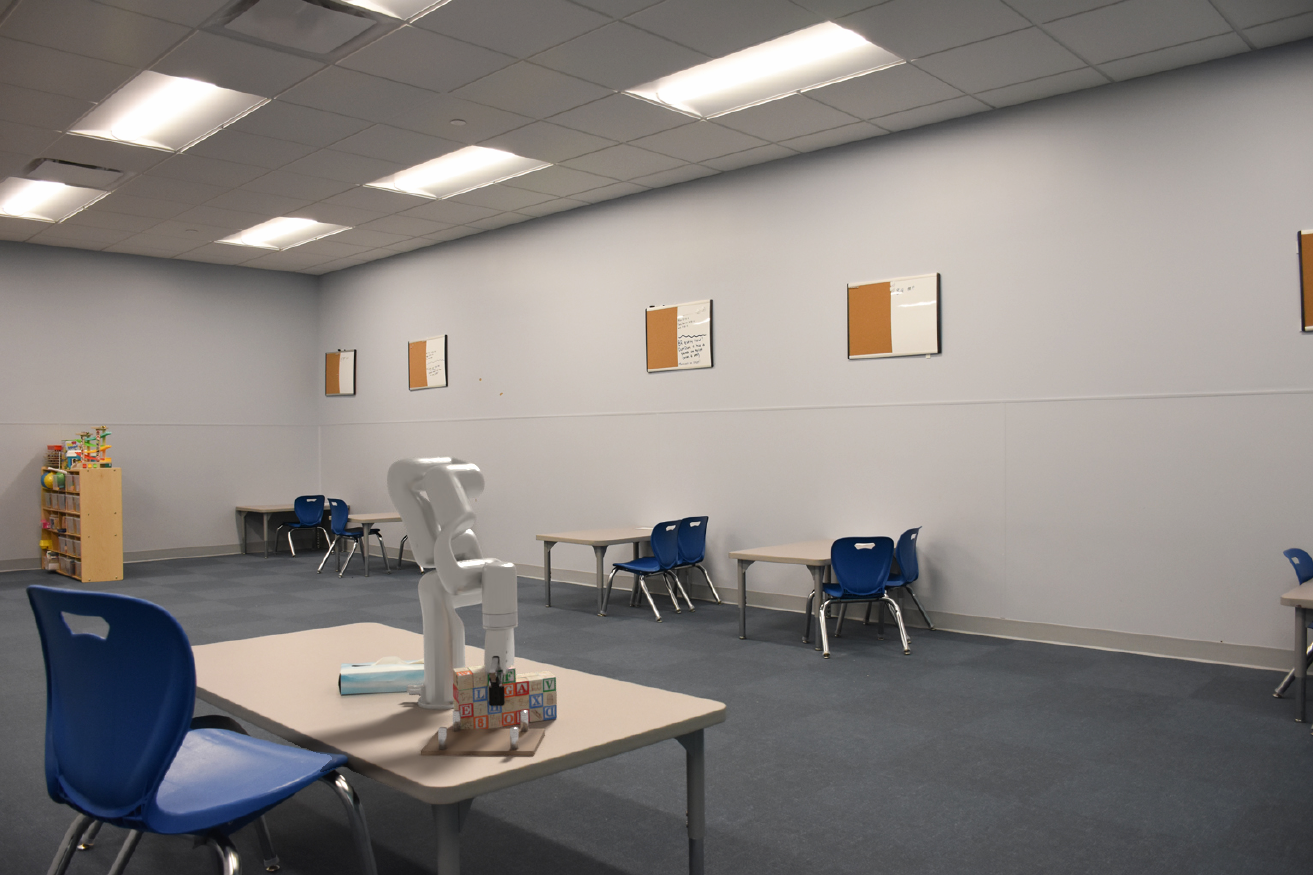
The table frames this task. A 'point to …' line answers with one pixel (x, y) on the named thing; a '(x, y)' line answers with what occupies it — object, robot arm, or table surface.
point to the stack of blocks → (519, 694)
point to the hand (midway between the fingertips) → (501, 698)
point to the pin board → (485, 740)
